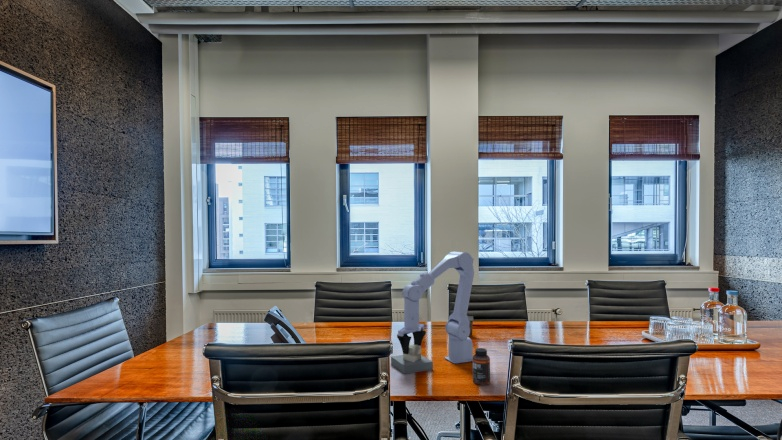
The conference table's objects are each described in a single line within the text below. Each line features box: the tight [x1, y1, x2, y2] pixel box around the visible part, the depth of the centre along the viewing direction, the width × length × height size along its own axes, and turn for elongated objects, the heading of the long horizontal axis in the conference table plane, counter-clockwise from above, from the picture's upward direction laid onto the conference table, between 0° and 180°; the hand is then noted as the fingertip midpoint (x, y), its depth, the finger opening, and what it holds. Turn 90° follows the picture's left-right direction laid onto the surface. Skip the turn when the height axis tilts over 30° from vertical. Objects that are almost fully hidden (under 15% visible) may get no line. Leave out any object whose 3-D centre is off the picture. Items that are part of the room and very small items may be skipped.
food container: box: [467, 314, 474, 337], centre depth 208 cm, size 12×6×10 cm, turn 17°
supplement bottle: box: [472, 347, 491, 386], centre depth 141 cm, size 6×6×11 cm
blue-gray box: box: [390, 354, 434, 375], centre depth 156 cm, size 12×12×3 cm
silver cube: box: [402, 343, 422, 362], centre depth 156 cm, size 5×5×5 cm
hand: (411, 351), depth 157 cm, fingers open, 7 cm apart
